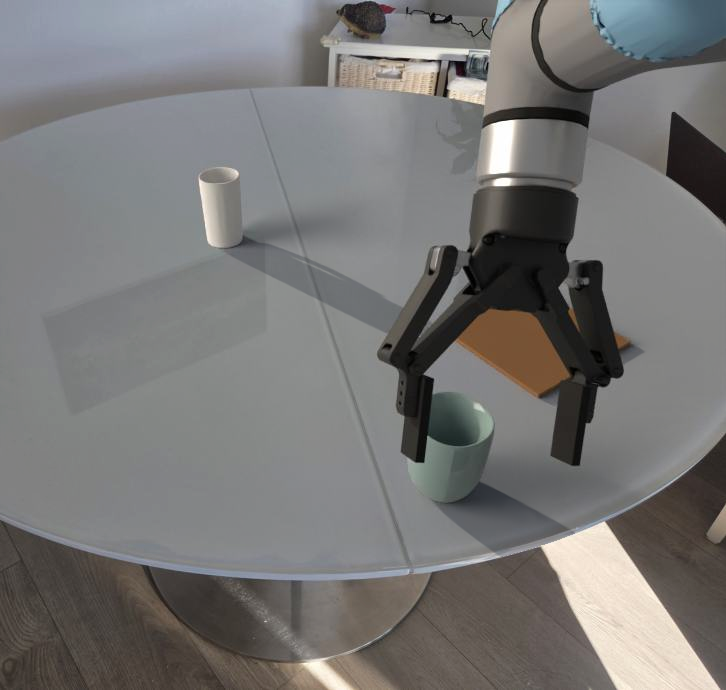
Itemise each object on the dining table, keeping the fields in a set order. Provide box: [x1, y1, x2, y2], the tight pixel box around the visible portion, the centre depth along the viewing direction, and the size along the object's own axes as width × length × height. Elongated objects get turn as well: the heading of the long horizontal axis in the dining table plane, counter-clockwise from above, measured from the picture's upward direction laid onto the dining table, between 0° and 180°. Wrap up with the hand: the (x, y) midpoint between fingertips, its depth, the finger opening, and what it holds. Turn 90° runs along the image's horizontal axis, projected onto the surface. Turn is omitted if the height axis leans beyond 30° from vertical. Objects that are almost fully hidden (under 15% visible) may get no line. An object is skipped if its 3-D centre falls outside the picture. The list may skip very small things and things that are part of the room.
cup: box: [406, 391, 496, 504], centre depth 65 cm, size 8×8×10 cm
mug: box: [198, 166, 244, 249], centre depth 110 cm, size 10×7×12 cm, turn 2°
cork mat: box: [454, 307, 632, 399], centre depth 87 cm, size 18×18×1 cm
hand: (490, 459), depth 51 cm, fingers open, 13 cm apart
